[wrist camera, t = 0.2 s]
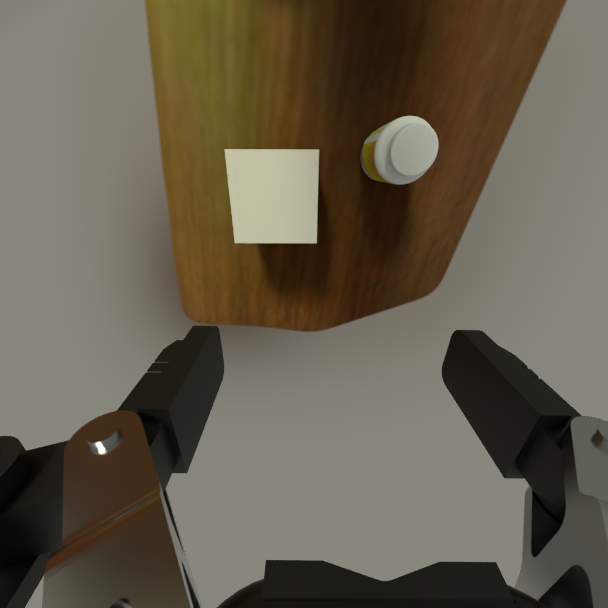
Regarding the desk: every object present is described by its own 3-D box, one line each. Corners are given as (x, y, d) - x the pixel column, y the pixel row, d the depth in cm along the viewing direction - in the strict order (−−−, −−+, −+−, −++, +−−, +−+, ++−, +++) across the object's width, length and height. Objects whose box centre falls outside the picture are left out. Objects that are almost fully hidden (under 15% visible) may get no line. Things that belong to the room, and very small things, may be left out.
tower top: (237, 151, 28) (224, 149, 23) (316, 152, 28) (319, 149, 23) (244, 232, 31) (234, 243, 27) (315, 232, 31) (316, 243, 27)
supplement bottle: (384, 190, 34) (414, 199, 25) (349, 162, 32) (367, 160, 23) (417, 148, 32) (463, 140, 23) (381, 115, 30) (414, 93, 21)
